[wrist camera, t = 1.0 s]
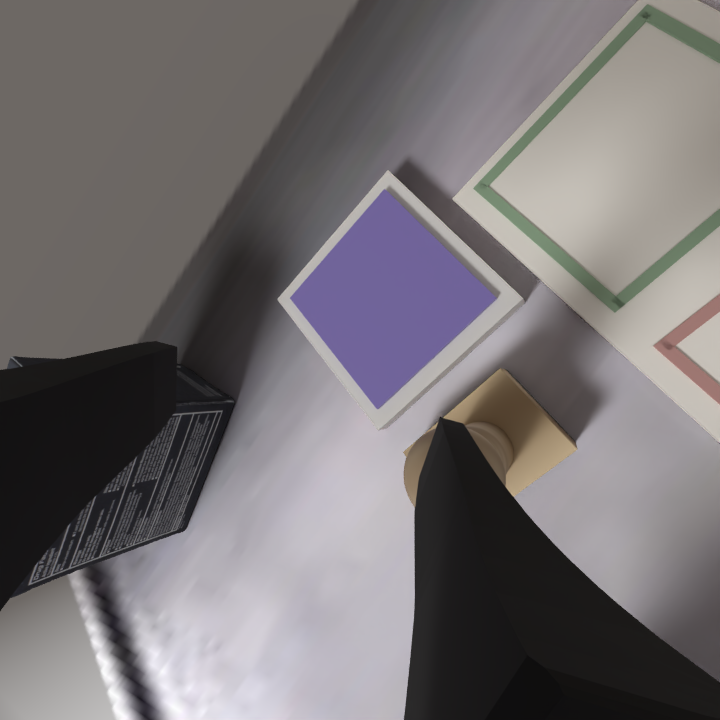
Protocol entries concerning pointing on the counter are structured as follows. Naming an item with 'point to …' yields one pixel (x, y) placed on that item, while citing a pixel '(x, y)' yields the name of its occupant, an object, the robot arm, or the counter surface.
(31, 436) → the robot arm
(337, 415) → the counter surface
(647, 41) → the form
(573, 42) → the counter surface
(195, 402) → the small box
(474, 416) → the stamp
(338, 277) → the ink pad
